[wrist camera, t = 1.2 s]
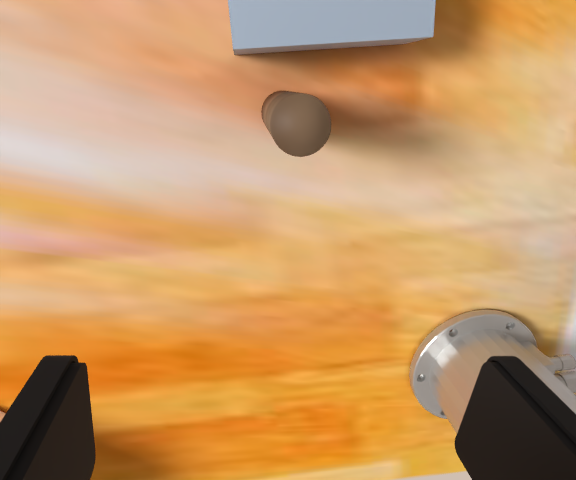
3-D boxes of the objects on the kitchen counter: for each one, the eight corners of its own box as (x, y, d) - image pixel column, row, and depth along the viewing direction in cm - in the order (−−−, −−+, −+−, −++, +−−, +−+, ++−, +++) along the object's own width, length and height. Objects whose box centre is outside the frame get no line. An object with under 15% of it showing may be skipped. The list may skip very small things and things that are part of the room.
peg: (301, 89, 28) (330, 91, 19) (303, 132, 29) (331, 154, 20) (259, 92, 28) (268, 95, 19) (263, 135, 29) (273, 159, 20)
